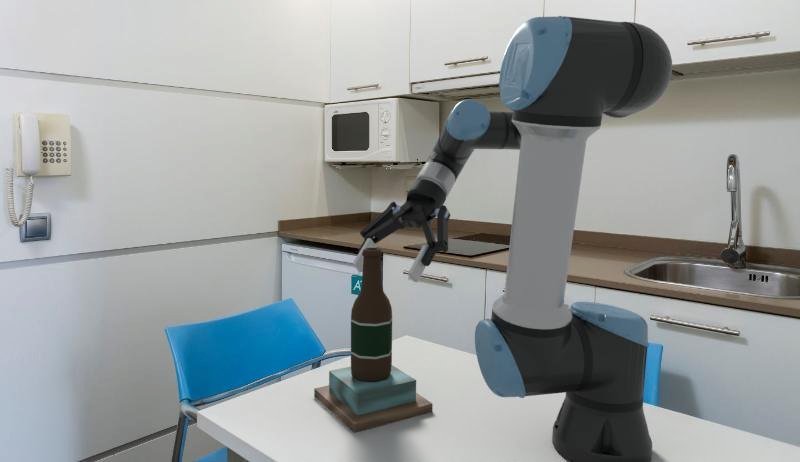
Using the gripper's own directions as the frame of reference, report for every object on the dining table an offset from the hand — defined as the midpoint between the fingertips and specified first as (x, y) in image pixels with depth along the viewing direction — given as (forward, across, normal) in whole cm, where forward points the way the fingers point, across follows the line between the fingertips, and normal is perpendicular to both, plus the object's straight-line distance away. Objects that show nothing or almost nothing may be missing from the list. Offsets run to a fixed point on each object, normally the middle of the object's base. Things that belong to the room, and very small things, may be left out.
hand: (383, 273), depth 107 cm
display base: (+20, 0, -14) cm, 25 cm away
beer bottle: (+16, 0, -11) cm, 19 cm away
